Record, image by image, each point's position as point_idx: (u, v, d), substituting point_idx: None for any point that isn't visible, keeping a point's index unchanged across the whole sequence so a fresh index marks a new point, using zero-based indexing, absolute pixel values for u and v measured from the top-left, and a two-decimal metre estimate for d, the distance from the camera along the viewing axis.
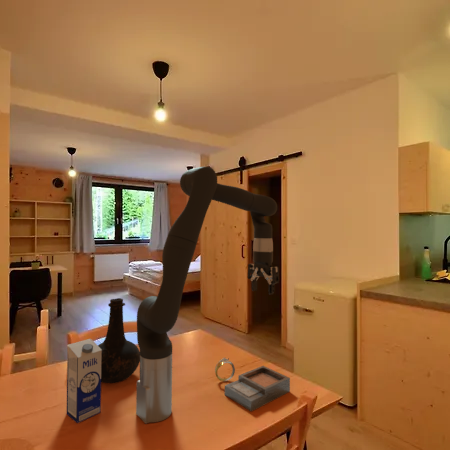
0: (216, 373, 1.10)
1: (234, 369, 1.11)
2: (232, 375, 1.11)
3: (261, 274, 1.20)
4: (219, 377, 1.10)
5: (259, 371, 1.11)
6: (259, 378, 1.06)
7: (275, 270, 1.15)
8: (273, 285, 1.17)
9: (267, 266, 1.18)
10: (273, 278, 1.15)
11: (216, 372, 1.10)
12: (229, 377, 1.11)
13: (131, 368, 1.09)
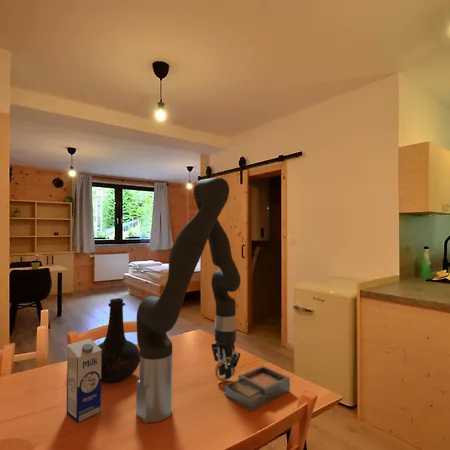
0: (216, 373, 1.10)
1: (234, 369, 1.11)
2: (232, 375, 1.11)
3: None
4: (219, 377, 1.10)
5: (259, 371, 1.11)
6: (259, 378, 1.06)
7: (235, 358, 1.06)
8: (230, 369, 1.09)
9: (229, 348, 1.08)
10: (230, 364, 1.07)
11: (216, 372, 1.10)
12: None
13: (131, 368, 1.09)
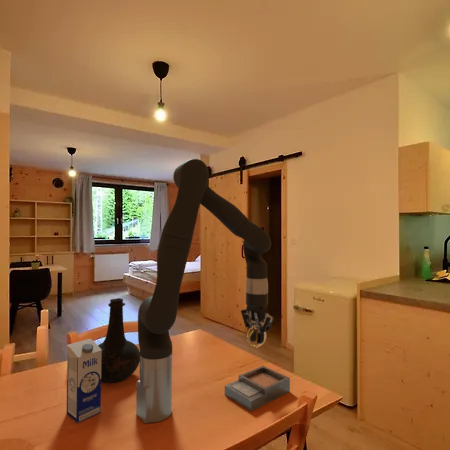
0: (249, 340, 1.05)
1: None
2: (264, 341, 1.07)
3: None
4: (251, 344, 1.06)
5: (259, 371, 1.11)
6: (259, 378, 1.06)
7: (269, 321, 1.02)
8: (262, 333, 1.05)
9: (262, 311, 1.03)
10: (264, 327, 1.03)
11: (249, 339, 1.05)
12: None
13: (131, 368, 1.09)
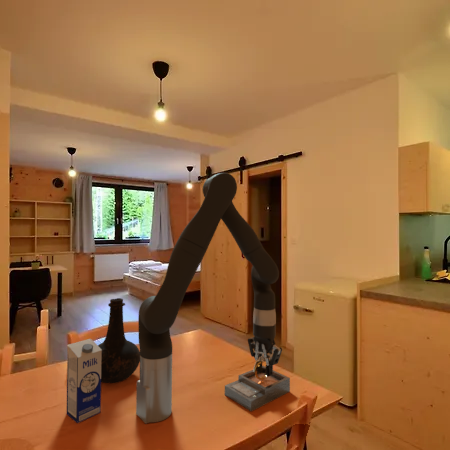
0: (256, 373, 1.03)
1: None
2: None
3: (262, 350, 1.04)
4: None
5: None
6: None
7: (277, 353, 1.00)
8: (271, 366, 1.03)
9: (270, 343, 1.02)
10: (272, 360, 1.01)
11: (256, 371, 1.03)
12: None
13: (131, 368, 1.09)
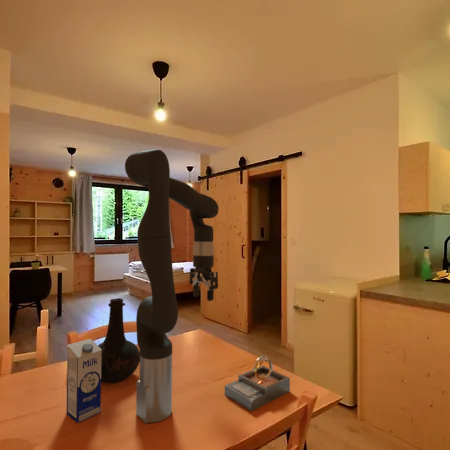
0: (255, 372, 1.04)
1: (272, 366, 1.06)
2: (270, 373, 1.06)
3: (201, 279, 1.14)
4: None
5: (259, 371, 1.11)
6: None
7: (213, 275, 1.09)
8: (212, 291, 1.11)
9: (206, 271, 1.12)
10: (211, 284, 1.09)
11: (255, 371, 1.04)
12: (267, 375, 1.06)
13: (131, 368, 1.09)
